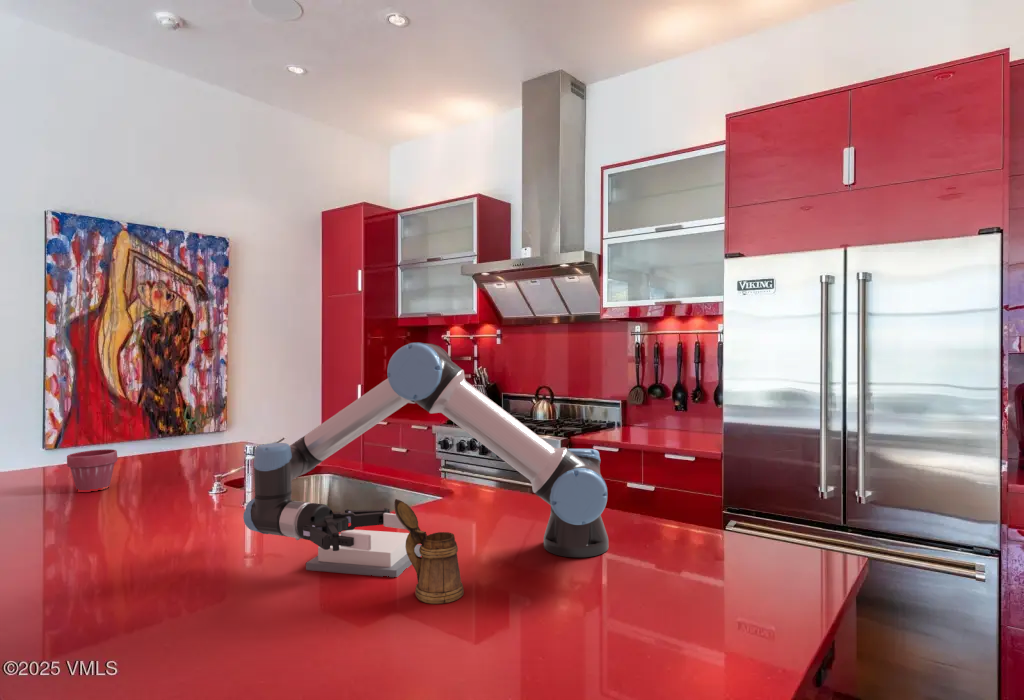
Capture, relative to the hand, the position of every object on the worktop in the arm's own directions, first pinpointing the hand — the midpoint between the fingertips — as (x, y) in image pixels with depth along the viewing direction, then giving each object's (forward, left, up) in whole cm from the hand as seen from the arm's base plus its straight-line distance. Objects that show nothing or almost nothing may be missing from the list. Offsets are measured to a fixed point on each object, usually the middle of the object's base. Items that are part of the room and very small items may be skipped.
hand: (391, 532), depth 118 cm
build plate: (+12, -13, -11) cm, 20 cm away
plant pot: (+138, -56, -11) cm, 149 cm away
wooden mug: (-8, +1, -11) cm, 14 cm away
